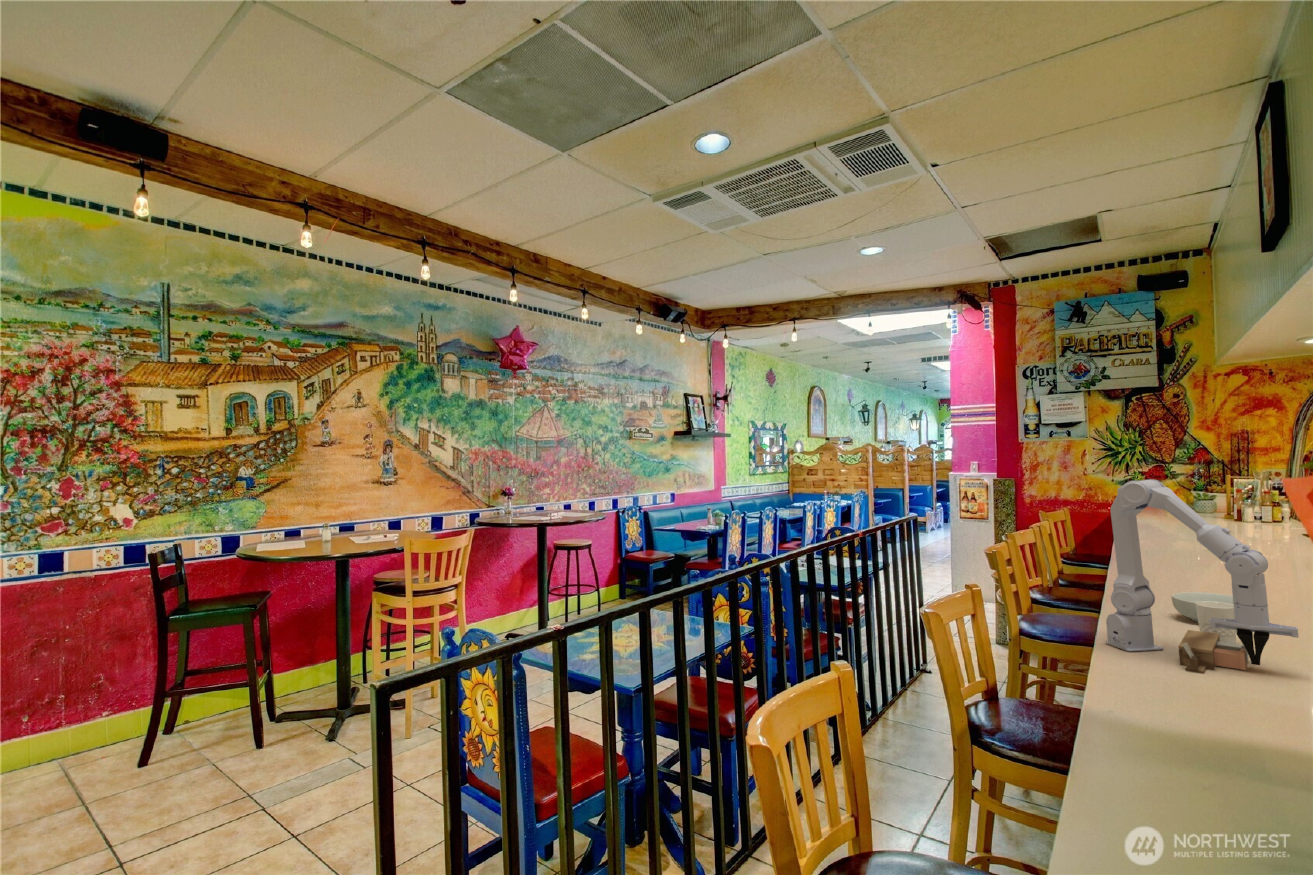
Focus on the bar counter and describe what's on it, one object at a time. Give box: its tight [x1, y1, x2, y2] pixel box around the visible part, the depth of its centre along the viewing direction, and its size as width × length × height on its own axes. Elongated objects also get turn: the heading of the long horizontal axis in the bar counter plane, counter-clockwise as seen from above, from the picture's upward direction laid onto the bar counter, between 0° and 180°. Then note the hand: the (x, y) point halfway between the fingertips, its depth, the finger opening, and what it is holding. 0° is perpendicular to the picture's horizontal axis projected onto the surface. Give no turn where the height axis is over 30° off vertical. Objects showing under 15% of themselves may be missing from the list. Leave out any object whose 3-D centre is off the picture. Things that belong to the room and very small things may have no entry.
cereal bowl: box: [1171, 591, 1233, 623], centre depth 180 cm, size 17×17×7 cm
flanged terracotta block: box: [1214, 648, 1248, 671], centre depth 144 cm, size 7×4×4 cm, turn 43°
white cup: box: [1196, 601, 1237, 644], centre depth 161 cm, size 8×8×10 cm
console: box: [1178, 629, 1220, 674], centre depth 148 cm, size 6×22×4 cm, turn 133°
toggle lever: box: [1182, 643, 1199, 662], centre depth 143 cm, size 1×2×4 cm, turn 133°
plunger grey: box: [1217, 641, 1250, 664], centre depth 148 cm, size 7×4×4 cm, turn 43°
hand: (1255, 663), depth 140 cm, fingers closed
